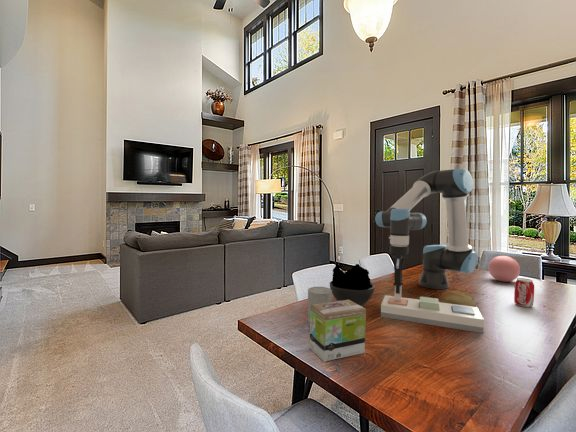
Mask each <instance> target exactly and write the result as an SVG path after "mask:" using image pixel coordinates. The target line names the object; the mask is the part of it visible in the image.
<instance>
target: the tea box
mask: <svg viewBox="0 0 576 432" xmlns="http://www.w3.org/2000/svg"><path fill="white" fill-rule="evenodd" d="M366 321H367V308H365V307H363V305H361V306H360V305H358V304H356V303H354V302H352V301H351V300H342V301H337V300H336V301H331V302H327V303H320V304H312V305H311V315H310V322H309V349H311V351H312V352H313V353H314V354H315V355H316V356H317V357H319V359H320V360H321V361H322V362H323V363H326V362H330V361H333V360H337V359H343V358H347V357H352V356H357V355H362V354H363V355H364V354H365V352H366V351H365V350H366V325H367V324H366V323H367V322H366Z"/></svg>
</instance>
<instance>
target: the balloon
mask: <svg viewBox="0 0 576 432" xmlns="http://www.w3.org/2000/svg"><path fill="white" fill-rule="evenodd" d="M487 269H488V272H489V274H490V276H491V277H492V278H494V279H495V280H497V281H499V282H504V283H507V282H508V283H509V282H512V281H514V280H517V278H519V275H520V273H521V267H520V264H519V262H518V261H517V260H516V259H514V258H513V257H511V256H509V255H497V256H495V257H493V258H492V259H491V260H490V261H489V263H488V266H487Z"/></svg>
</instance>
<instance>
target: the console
mask: <svg viewBox="0 0 576 432" xmlns="http://www.w3.org/2000/svg"><path fill="white" fill-rule="evenodd" d="M390 297H394V295H386V294H385V295H384V297H383V299H382V301H381V304H380V318H384V319H385V318H386V319H392V320H399V321H405V322H412V323H419V324H423V325H430V326H436V327H443V328H448V329H449V328H450V329H454V330H455V329H456V330H463V331H466V332H467V331H469V332H475V333H481V334H484V325H485V324H484V322H485V318H484V316H483V315H482V313H481V311H480V310H479V307H477V306H476V307H472V306H465V305H457V304H449V303H441V302H440V301H439V310H432V309H424V308H420V299H418V298H417V299H416V298H409V297H402V296H401V299H407V306H403V305H396V304H389V303H388V302H389V299H390ZM452 305H455V306H462V307H470V308H472V309H473V312H474V315H467V314H460V313H453V312H452Z"/></svg>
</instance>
